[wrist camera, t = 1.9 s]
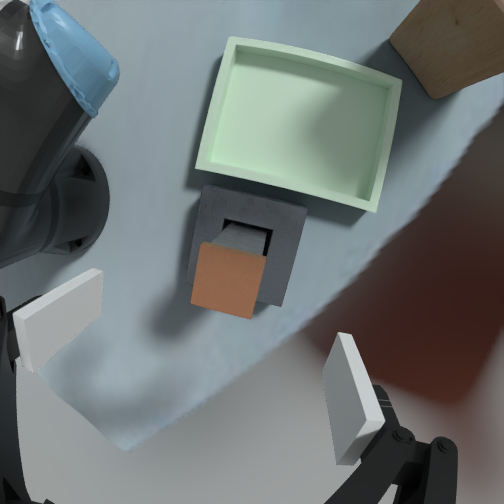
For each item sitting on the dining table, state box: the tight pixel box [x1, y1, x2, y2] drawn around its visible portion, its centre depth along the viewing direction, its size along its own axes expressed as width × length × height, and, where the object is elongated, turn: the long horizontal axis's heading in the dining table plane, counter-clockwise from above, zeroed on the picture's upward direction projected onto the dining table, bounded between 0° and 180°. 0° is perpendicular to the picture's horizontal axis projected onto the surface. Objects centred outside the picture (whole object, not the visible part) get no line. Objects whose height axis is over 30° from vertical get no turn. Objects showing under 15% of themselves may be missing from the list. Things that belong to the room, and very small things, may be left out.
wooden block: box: [389, 0, 504, 99], centre depth 18 cm, size 10×10×20 cm
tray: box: [195, 36, 402, 213], centre depth 31 cm, size 20×16×3 cm
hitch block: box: [185, 184, 308, 307], centre depth 34 cm, size 11×11×4 cm
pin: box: [190, 220, 268, 319], centre depth 29 cm, size 5×5×15 cm
